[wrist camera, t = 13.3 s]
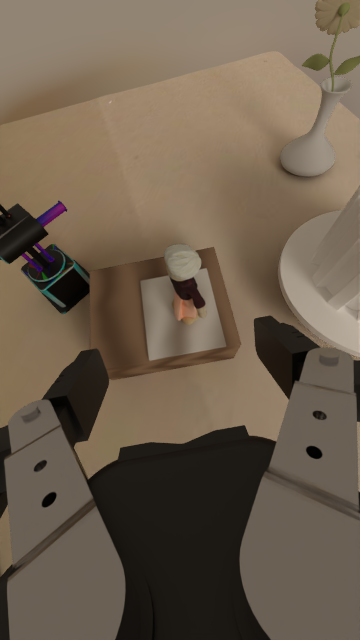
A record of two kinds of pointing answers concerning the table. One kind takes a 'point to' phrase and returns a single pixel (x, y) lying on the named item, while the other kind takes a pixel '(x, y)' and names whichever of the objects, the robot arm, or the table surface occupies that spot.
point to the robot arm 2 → (42, 257)
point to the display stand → (158, 319)
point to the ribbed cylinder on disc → (326, 276)
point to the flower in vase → (324, 92)
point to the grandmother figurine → (185, 283)
